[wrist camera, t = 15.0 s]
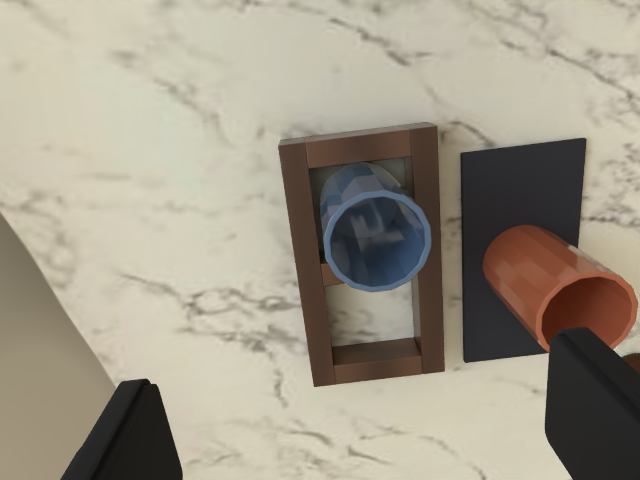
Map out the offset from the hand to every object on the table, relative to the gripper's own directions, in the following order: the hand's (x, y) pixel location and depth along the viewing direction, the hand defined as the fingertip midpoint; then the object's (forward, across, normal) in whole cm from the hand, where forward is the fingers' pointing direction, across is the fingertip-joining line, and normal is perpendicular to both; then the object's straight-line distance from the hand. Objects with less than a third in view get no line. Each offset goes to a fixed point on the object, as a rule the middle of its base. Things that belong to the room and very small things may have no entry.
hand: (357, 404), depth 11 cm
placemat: (+28, -16, +10) cm, 34 cm away
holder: (+28, -3, +8) cm, 30 cm away
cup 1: (+28, -3, +3) cm, 29 cm away
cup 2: (+28, -16, +10) cm, 34 cm away
